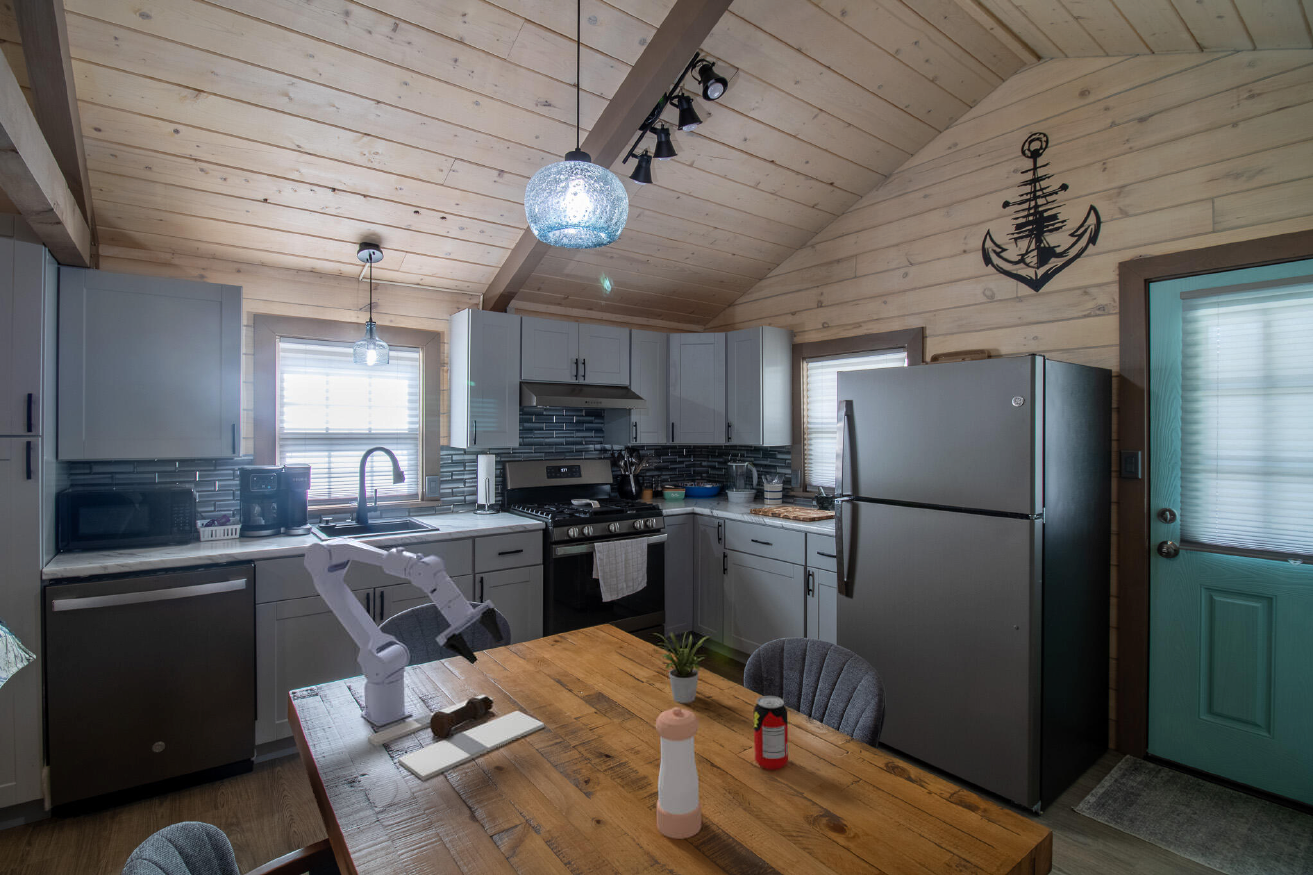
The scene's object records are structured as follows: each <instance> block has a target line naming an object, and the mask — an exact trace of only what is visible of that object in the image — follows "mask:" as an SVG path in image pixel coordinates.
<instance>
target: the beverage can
mask: <svg viewBox="0 0 1313 875" xmlns="http://www.w3.org/2000/svg"><path fill="white" fill-rule="evenodd" d="M786 707H787V706H785V702H784V700H783V699H782V698H781V697H779V696H775V695H763V696H761V697H758V698H757V699H756V704H755V706H754V708H753V727H754V728H753V729H754V730H753V732H754V733H753V734H754V735H753V736H754V738H753V740H754V759H755V761H756V763H757V764H758V765H759V766H760V767H762V768H763V769H766V770H771V771H776V770H780V769H782V768H783V767H785V766H786V765H787V764H788V761H789V741H788V740H789V734H788V728H789V726H788V710H787V708H786Z"/></svg>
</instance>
